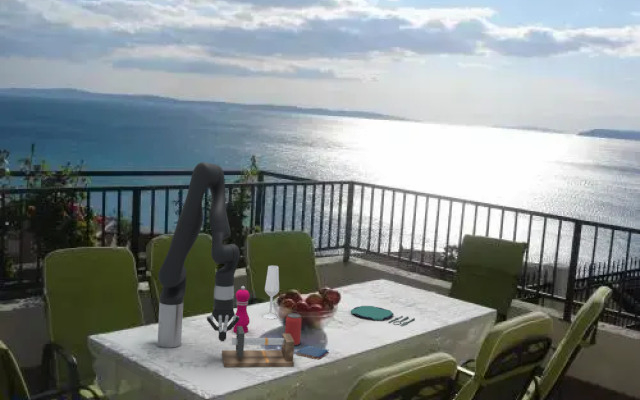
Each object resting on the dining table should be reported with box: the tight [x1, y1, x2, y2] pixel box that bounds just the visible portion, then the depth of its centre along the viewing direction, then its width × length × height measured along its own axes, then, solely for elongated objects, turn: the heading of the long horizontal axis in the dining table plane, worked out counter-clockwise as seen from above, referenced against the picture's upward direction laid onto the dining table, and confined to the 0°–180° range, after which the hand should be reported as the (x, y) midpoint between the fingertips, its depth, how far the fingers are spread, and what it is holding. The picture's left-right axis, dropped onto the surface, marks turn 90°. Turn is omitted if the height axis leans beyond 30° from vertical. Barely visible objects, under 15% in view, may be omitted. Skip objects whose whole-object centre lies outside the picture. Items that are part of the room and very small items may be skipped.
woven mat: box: [295, 345, 330, 361], centre depth 274 cm, size 10×11×2 cm
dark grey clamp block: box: [235, 326, 246, 357], centre depth 260 cm, size 2×9×9 cm, turn 12°
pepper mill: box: [232, 285, 251, 334], centre depth 295 cm, size 7×7×20 cm
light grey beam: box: [231, 337, 285, 346], centre depth 261 cm, size 20×2×2 cm, turn 102°
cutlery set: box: [350, 305, 416, 327], centre depth 333 cm, size 20×30×2 cm, turn 57°
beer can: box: [284, 312, 303, 346], centre depth 284 cm, size 7×7×12 cm
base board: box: [221, 333, 295, 368], centre depth 261 cm, size 26×14×9 cm, turn 102°
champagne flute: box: [262, 265, 280, 320], centre depth 320 cm, size 7×7×24 cm
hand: (222, 340), depth 261 cm, fingers closed
